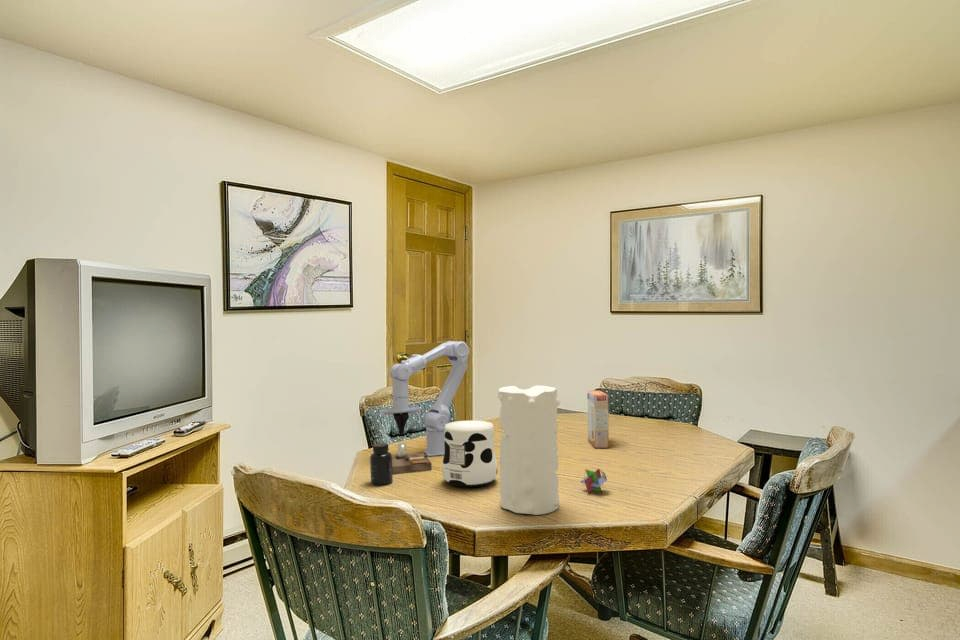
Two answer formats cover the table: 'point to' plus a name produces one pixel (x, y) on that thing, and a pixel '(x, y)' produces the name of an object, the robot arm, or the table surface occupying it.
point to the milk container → (469, 453)
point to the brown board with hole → (409, 464)
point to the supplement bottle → (381, 465)
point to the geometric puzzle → (594, 480)
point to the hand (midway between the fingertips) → (401, 433)
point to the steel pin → (401, 451)
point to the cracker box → (598, 419)
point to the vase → (529, 449)
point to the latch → (417, 460)
